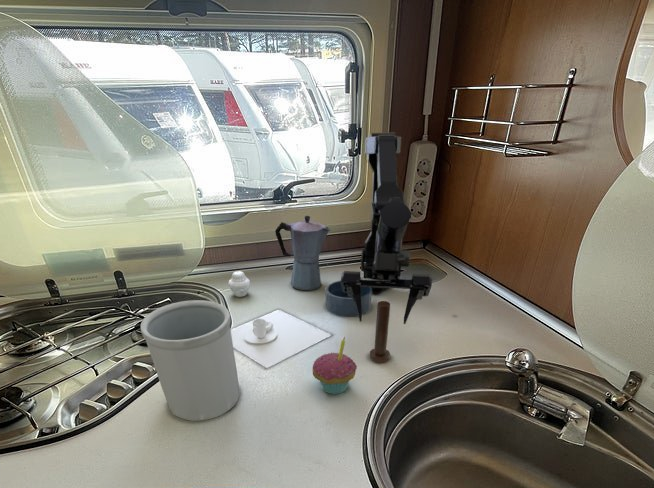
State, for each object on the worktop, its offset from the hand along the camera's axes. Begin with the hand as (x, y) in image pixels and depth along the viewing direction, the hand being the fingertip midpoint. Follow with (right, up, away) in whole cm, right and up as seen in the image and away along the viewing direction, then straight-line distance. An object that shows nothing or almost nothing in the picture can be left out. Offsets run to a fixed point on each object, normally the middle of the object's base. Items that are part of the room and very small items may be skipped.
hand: (382, 322), depth 89 cm
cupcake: (-10, -14, -4) cm, 18 cm away
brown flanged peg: (0, -7, +5) cm, 9 cm away
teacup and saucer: (-24, -1, +14) cm, 28 cm away
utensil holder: (-36, -16, -6) cm, 40 cm away
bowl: (-5, +8, +26) cm, 28 cm away
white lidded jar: (-36, +13, +33) cm, 51 cm away
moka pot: (-18, +16, +38) cm, 45 cm away
